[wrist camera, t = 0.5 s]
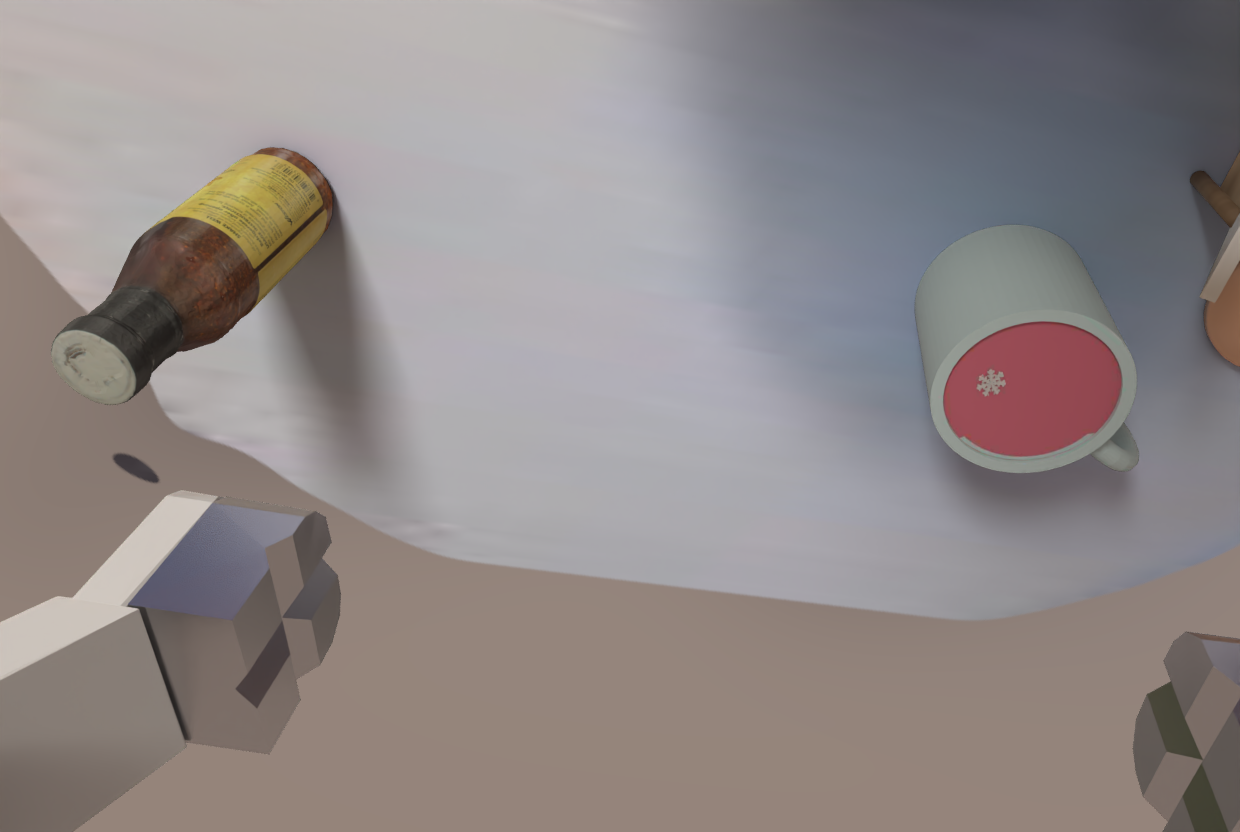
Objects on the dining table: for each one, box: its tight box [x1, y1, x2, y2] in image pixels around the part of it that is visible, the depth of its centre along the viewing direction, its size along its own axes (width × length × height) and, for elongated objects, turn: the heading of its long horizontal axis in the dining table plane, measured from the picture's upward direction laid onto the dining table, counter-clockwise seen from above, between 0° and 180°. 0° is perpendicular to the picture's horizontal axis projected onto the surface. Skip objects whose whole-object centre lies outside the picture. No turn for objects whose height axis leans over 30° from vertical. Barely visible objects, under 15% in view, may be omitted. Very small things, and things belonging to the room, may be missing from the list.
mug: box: [915, 225, 1139, 473], centre depth 51 cm, size 14×9×10 cm
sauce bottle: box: [51, 147, 333, 405], centre depth 51 cm, size 6×6×20 cm
